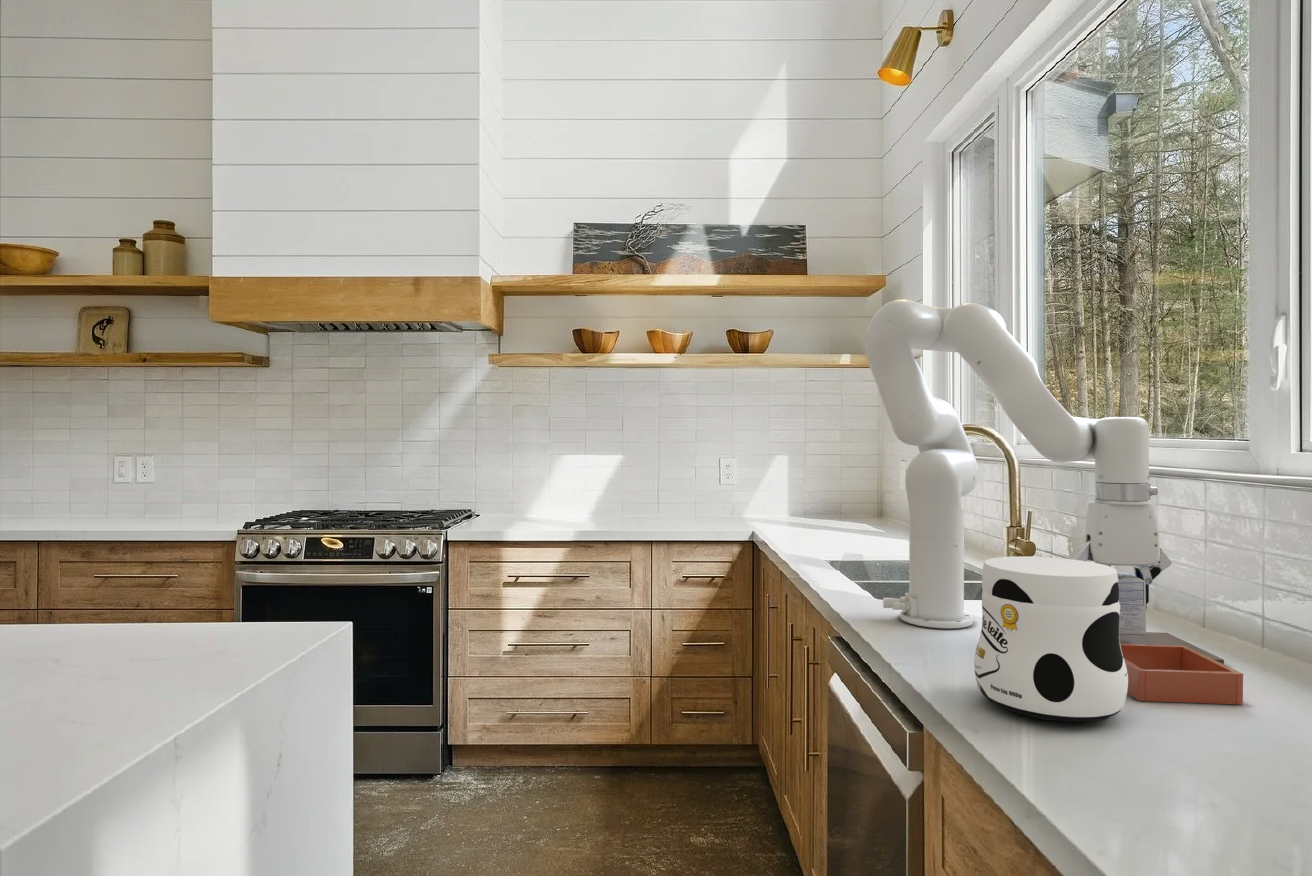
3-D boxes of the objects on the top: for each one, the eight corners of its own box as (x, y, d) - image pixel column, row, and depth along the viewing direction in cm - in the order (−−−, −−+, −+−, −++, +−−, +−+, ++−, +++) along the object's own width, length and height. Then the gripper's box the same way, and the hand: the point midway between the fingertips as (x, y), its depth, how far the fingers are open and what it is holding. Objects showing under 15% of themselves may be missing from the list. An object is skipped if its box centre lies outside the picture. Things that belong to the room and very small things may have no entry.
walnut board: (1069, 661, 121) (1069, 654, 121) (1031, 634, 137) (1031, 628, 137) (1224, 666, 118) (1224, 659, 118) (1167, 638, 134) (1167, 632, 134)
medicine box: (1146, 636, 123) (1147, 580, 123) (1115, 635, 124) (1115, 579, 124) (1127, 624, 131) (1127, 572, 131) (1097, 623, 132) (1098, 571, 132)
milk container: (944, 696, 105) (945, 559, 104) (1040, 679, 111) (1040, 551, 111) (1057, 743, 89) (1058, 582, 88) (1161, 721, 96) (1162, 572, 95)
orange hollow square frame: (1138, 700, 103) (1138, 670, 103) (1092, 669, 116) (1092, 642, 116) (1243, 704, 101) (1243, 673, 101) (1184, 672, 115) (1184, 645, 115)
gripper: (1165, 492, 130) (1165, 603, 130) (1056, 492, 132) (1056, 601, 132) (1191, 496, 123) (1191, 613, 123) (1075, 495, 124) (1075, 611, 125)
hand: (1121, 606), depth 127 cm, fingers closed on medicine box, 4 cm apart
